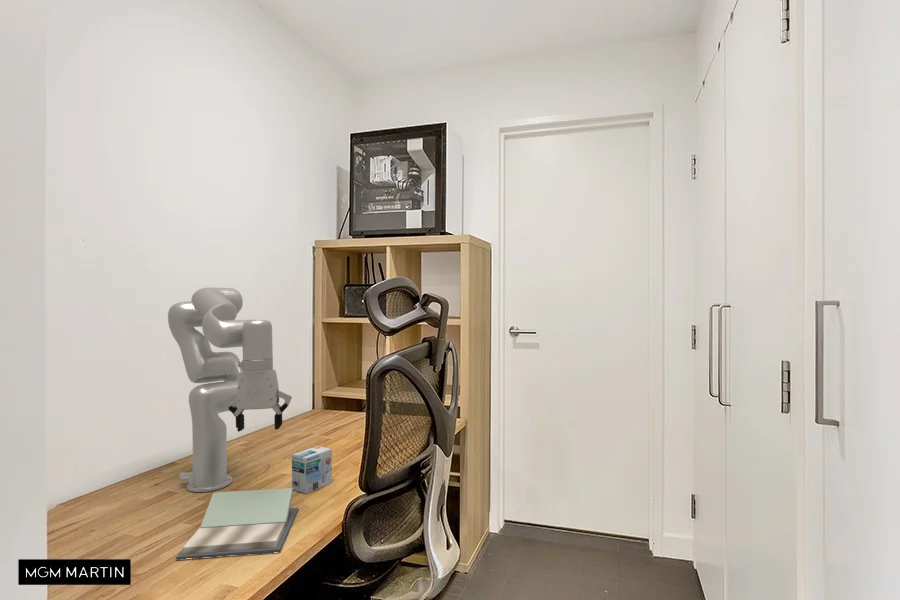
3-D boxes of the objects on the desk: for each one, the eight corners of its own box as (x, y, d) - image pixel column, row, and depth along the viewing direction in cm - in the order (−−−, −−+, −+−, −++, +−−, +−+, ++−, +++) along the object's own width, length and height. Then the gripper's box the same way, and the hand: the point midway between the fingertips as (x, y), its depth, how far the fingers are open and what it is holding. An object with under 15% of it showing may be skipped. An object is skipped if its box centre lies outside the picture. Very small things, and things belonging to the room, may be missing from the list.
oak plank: (182, 554, 104) (182, 547, 104) (200, 533, 113) (200, 526, 113) (276, 547, 106) (276, 540, 106) (285, 527, 116) (285, 521, 116)
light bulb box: (306, 494, 138) (305, 458, 138) (290, 490, 142) (290, 454, 142) (332, 482, 147) (332, 448, 147) (317, 478, 151) (317, 445, 151)
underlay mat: (175, 560, 103) (175, 557, 103) (213, 515, 124) (213, 512, 125) (279, 552, 106) (279, 549, 106) (298, 510, 127) (298, 507, 127)
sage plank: (201, 531, 114) (200, 527, 113) (214, 496, 123) (213, 492, 122) (286, 525, 117) (285, 521, 116) (293, 491, 125) (292, 487, 125)
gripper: (219, 368, 122) (220, 434, 122) (287, 366, 124) (288, 431, 123) (230, 365, 130) (231, 427, 129) (294, 363, 131) (295, 424, 131)
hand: (259, 429), depth 126 cm, fingers open, 9 cm apart
